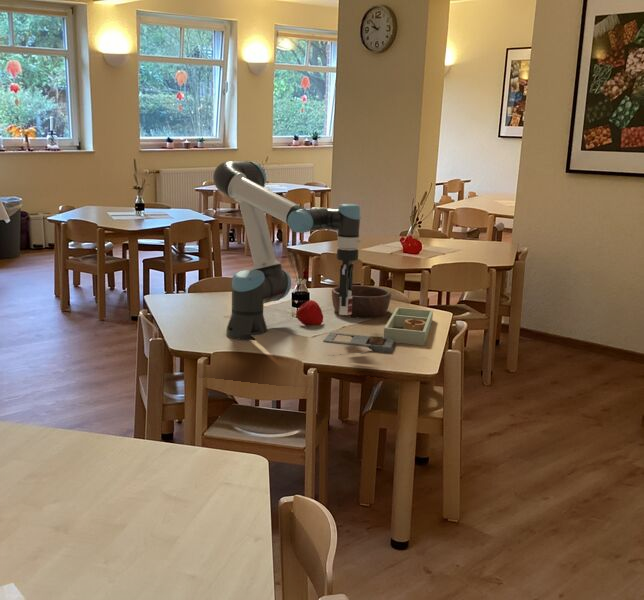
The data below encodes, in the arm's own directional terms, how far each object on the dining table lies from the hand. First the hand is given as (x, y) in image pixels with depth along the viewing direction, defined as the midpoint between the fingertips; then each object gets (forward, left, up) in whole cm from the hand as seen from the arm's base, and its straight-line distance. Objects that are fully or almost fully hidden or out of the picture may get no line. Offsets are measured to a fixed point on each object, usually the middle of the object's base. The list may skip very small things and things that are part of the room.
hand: (344, 312), depth 268 cm
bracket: (+23, +31, -14) cm, 41 cm away
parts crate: (+21, +27, -11) cm, 36 cm away
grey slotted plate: (+6, 0, -11) cm, 13 cm away
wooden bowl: (-2, +48, -12) cm, 50 cm away
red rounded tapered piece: (-13, +18, -10) cm, 25 cm away
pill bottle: (0, 0, -1) cm, 1 cm away
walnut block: (+12, 0, -11) cm, 16 cm away
